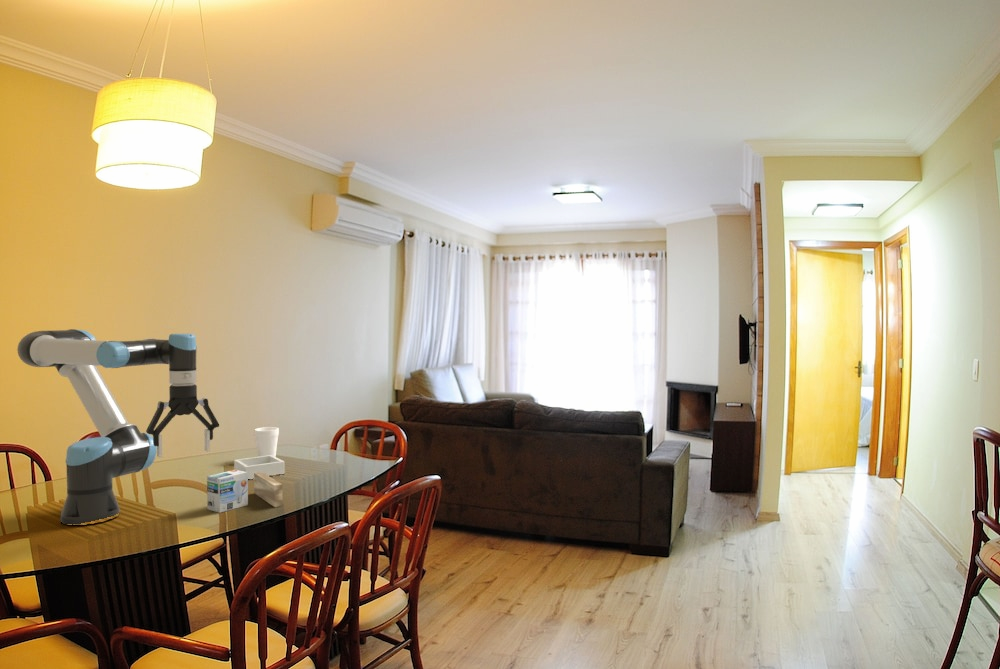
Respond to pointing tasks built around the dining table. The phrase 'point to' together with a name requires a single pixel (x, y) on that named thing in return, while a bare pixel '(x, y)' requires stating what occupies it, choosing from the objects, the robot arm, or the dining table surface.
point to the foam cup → (266, 440)
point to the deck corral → (260, 465)
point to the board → (268, 489)
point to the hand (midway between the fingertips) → (183, 453)
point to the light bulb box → (227, 490)
